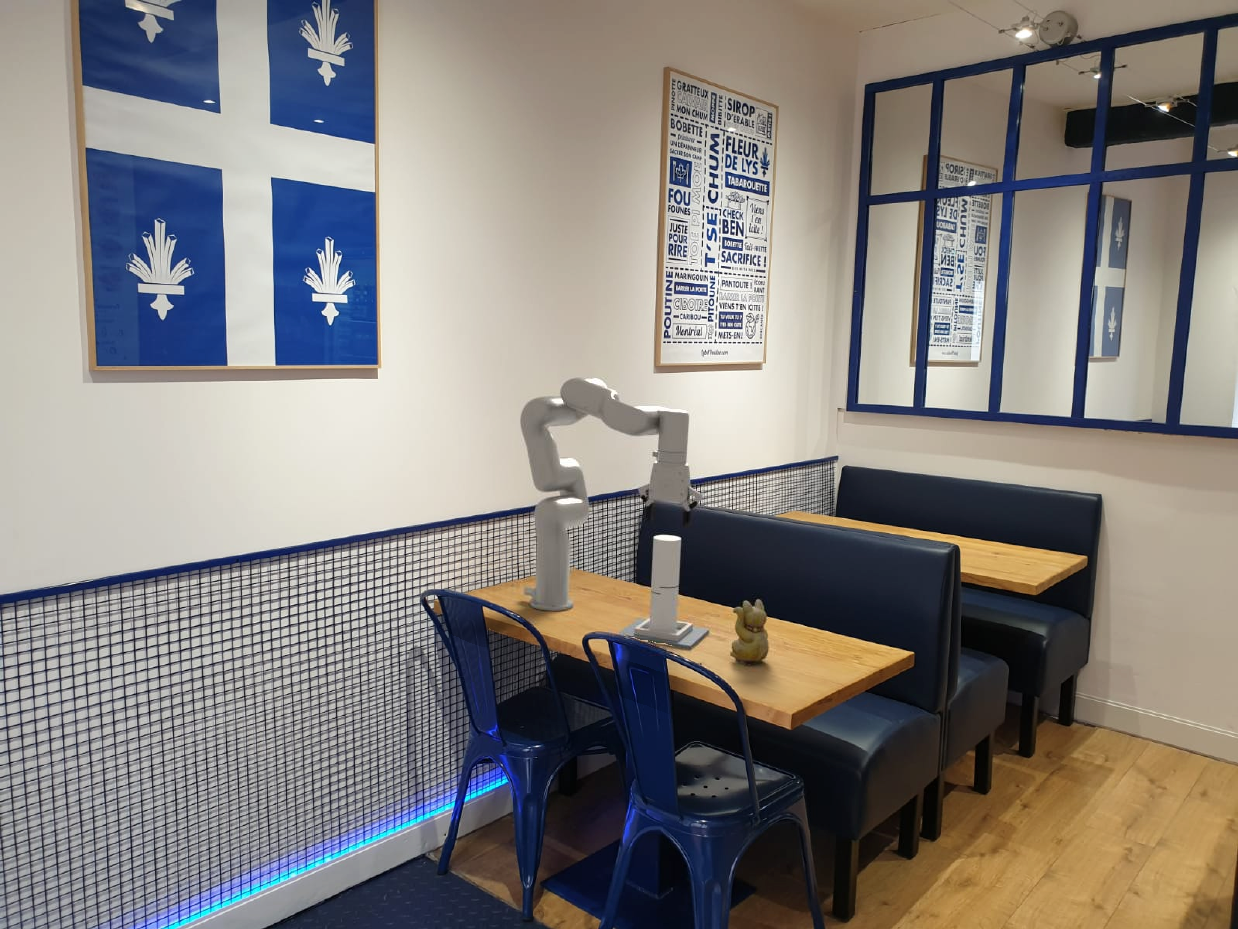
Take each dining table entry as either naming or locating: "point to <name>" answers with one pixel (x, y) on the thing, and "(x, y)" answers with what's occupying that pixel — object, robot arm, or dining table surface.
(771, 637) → the dining table surface
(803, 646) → the dining table surface
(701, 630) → the collar board
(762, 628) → the decorative figurine
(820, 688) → the dining table surface
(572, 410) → the robot arm
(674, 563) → the cylindrical container
